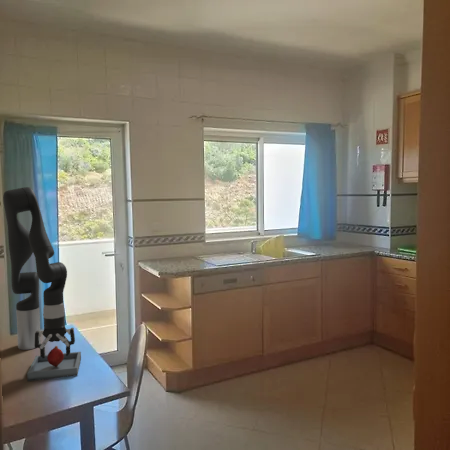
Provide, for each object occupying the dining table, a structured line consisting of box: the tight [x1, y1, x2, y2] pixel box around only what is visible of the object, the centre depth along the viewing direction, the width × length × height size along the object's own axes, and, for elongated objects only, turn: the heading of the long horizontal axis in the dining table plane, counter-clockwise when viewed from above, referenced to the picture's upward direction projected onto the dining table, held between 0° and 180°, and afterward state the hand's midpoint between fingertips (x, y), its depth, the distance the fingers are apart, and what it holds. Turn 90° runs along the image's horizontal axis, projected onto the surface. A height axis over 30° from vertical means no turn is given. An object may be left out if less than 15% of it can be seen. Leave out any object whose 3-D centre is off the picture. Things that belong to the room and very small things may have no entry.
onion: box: [47, 345, 64, 367], centre depth 161 cm, size 6×6×8 cm
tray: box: [26, 351, 82, 382], centre depth 161 cm, size 17×17×3 cm
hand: (55, 356), depth 161 cm, fingers open, 8 cm apart
